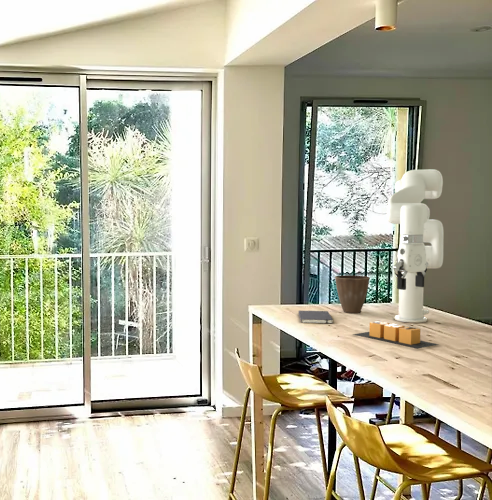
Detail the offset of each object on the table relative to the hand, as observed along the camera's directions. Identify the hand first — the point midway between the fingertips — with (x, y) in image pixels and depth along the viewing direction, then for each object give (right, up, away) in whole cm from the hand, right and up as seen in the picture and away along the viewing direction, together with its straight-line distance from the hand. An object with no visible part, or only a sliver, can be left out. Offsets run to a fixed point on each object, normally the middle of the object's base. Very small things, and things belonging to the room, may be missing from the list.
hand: (410, 288), depth 228 cm
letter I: (-3, -19, +7) cm, 20 cm away
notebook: (-20, -16, +51) cm, 57 cm away
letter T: (0, -19, +1) cm, 19 cm away
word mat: (-3, -19, +7) cm, 21 cm away
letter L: (-7, -19, +12) cm, 23 cm away
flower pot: (+1, -15, +67) cm, 69 cm away
